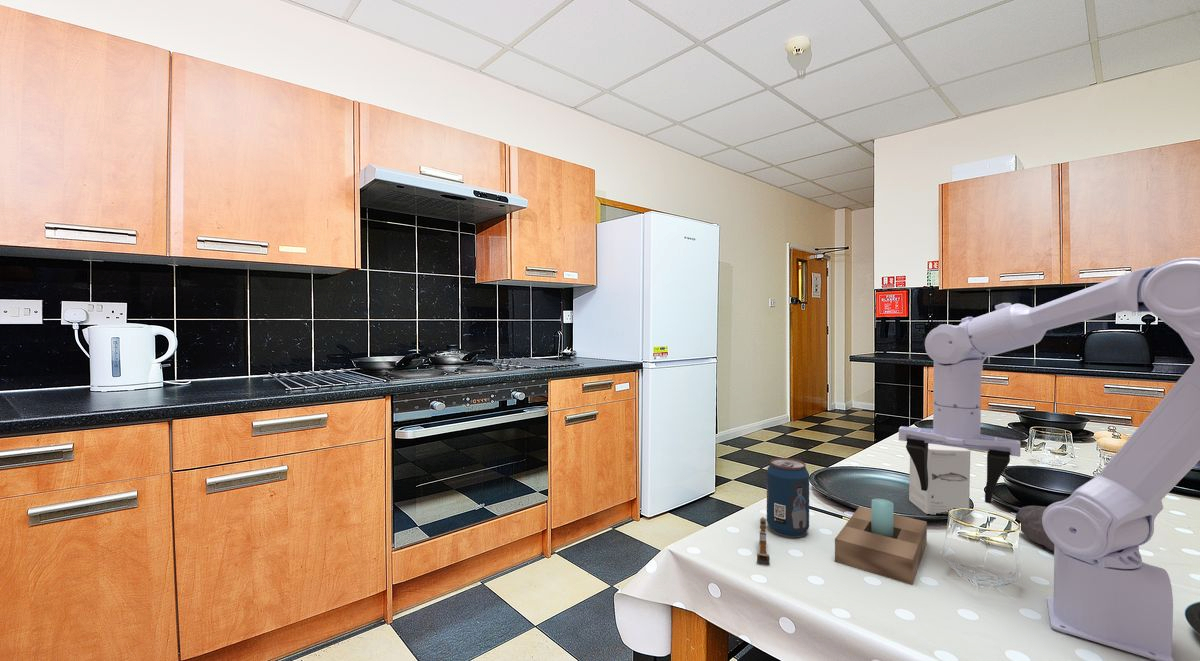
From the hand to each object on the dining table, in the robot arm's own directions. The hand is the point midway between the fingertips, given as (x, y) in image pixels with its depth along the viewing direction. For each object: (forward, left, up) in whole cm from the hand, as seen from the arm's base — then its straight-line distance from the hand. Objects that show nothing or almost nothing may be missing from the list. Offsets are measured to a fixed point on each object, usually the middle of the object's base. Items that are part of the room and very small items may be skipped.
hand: (955, 494), depth 72 cm
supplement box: (+4, -23, -11) cm, 26 cm away
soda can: (+23, +5, -11) cm, 26 cm away
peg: (+9, +3, -10) cm, 14 cm away
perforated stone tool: (-13, -14, -11) cm, 22 cm away
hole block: (+9, +3, -10) cm, 14 cm away
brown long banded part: (+24, +16, -11) cm, 30 cm away
